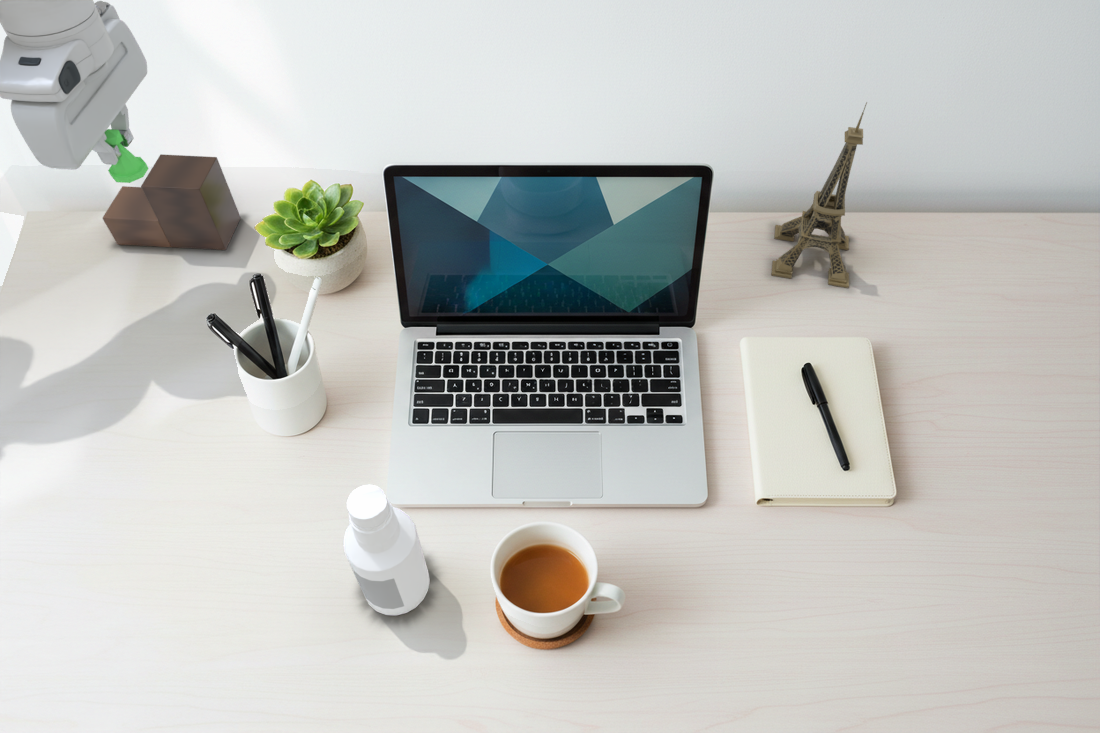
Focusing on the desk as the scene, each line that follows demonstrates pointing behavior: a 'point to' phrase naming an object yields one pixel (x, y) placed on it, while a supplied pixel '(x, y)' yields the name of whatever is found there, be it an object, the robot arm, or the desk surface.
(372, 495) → the white bottle
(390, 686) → the desk surface
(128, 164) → the game piece
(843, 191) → the eiffel tower
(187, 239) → the stepped wooden block
